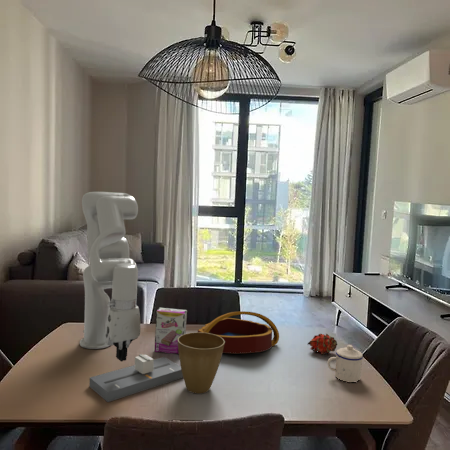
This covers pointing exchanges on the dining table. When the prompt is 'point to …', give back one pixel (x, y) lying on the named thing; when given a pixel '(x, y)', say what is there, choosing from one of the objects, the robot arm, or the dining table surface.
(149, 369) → the fader knob
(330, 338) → the dragon fruit
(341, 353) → the teacup with lid
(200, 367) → the plant pot
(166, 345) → the candy bar box
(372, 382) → the dining table surface
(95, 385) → the fader panel
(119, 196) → the robot arm
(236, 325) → the decorative basket
